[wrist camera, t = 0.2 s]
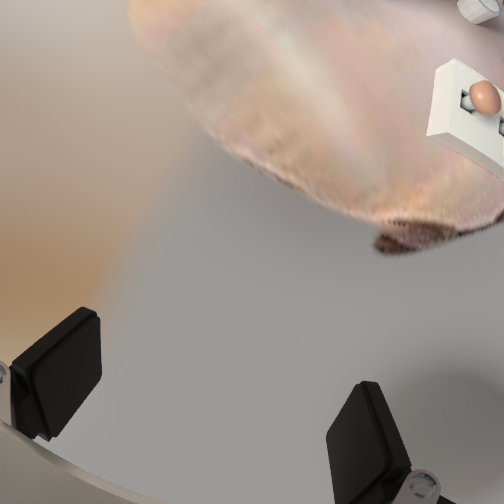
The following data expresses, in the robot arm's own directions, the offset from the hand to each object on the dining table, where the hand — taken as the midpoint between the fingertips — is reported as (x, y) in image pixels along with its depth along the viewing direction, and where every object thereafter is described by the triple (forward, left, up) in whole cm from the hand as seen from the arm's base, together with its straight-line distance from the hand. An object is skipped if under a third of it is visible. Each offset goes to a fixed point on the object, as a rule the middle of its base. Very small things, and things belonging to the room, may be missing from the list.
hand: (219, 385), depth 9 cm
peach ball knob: (-26, +23, -27) cm, 44 cm away
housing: (-26, +31, -31) cm, 51 cm away
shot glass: (-51, +27, -31) cm, 65 cm away
